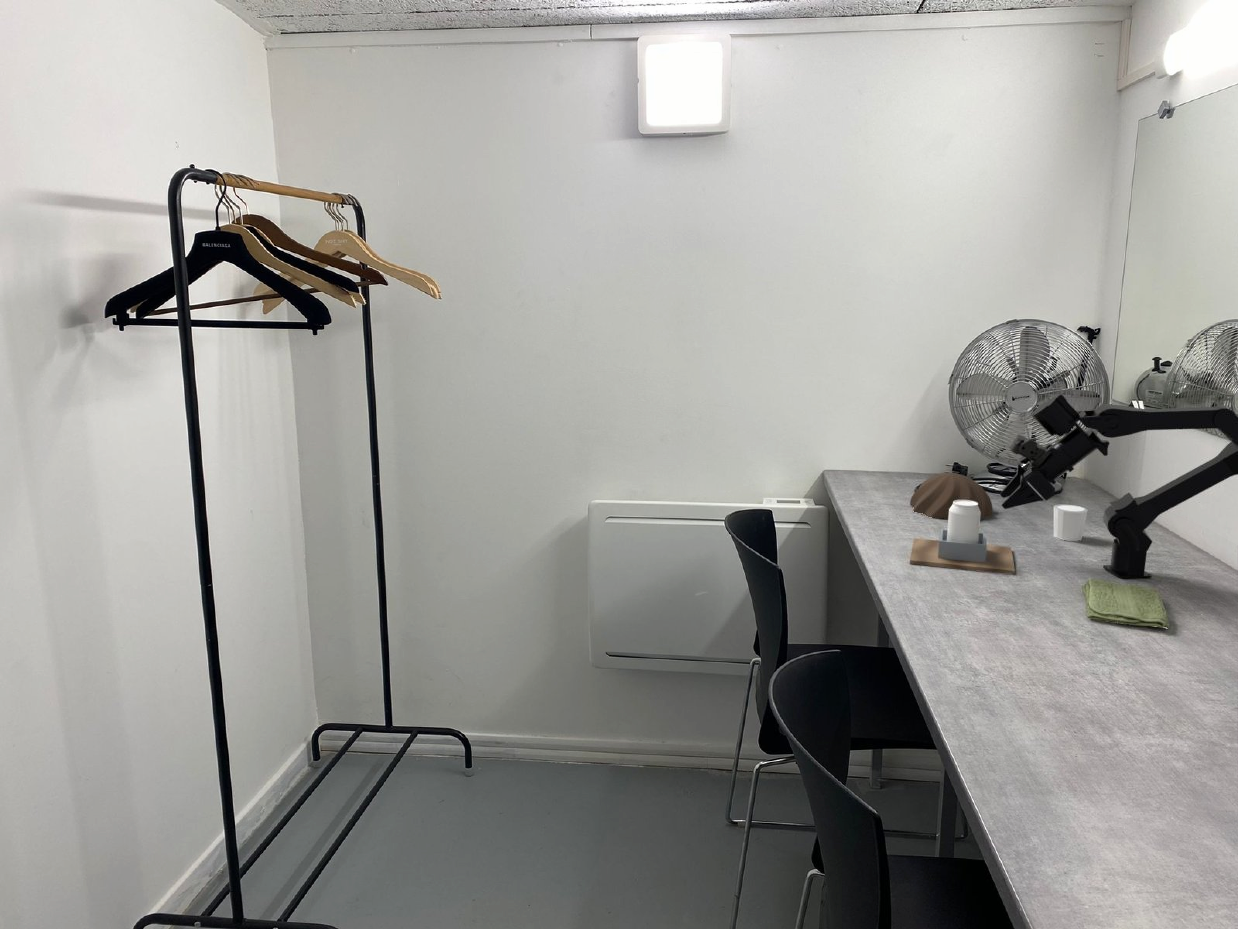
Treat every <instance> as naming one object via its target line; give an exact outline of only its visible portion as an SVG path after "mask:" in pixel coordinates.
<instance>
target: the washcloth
mask: <svg viewBox="0 0 1238 929" xmlns="http://www.w3.org/2000/svg"><path fill="white" fill-rule="evenodd" d="M1081 590H1082V591H1081V592H1082V594H1083V596H1084V600H1085V617H1086V618H1088V619H1090V621H1092V620H1093V621H1095V620H1098V621H1097V622H1103V621H1108V622H1107V623H1112V622H1116V623H1115V624H1119V623H1123V624H1122V625H1126V624H1129V625H1131V626H1142V627H1147V626H1157V627H1161V628H1163V627H1167V628H1169V627H1170V626H1171V622H1170V621H1169V620H1168V619H1169V617H1168V615H1167V614H1168V612H1167V610H1166V608H1165V605H1164V602H1163V599H1162V596H1161V594H1160V593H1159V592H1158V590H1157V589H1156V588H1153V587H1147V586H1143V585H1133V584H1129V583H1128V584H1122V583H1117V582H1116V583H1115V582H1111V581H1109V580H1102V579H1096V578H1088V579H1087V580H1086V581H1085V583H1084V584H1083V585H1082V588H1081ZM1099 620H1100V621H1099ZM1117 622H1118V623H1117ZM1129 625H1128V626H1129ZM1161 628H1160V629H1161ZM1169 629H1170V628H1169Z"/></svg>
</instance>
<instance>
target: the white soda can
mask: <svg viewBox="0 0 1238 929" xmlns="http://www.w3.org/2000/svg"><path fill="white" fill-rule="evenodd" d="M980 515H981V512H980V509H979V507H978V503H977V502H974V501H970V500H955V501H953V504H952V506H951V507H950V509H949V518H948V520H947V530H948V532H947V541H954V542H965V543H976V544H978V540H979V532H980V527H981V524H980V523H981V520H980Z"/></svg>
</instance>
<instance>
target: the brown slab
mask: <svg viewBox="0 0 1238 929" xmlns="http://www.w3.org/2000/svg"><path fill="white" fill-rule="evenodd" d="M912 543H913V544H912V547H911V552H910V558H909V564H911V565H919V566H927V565H928V567H936V568H937V567H938V568H948V569H956V568H957V570H967V571H979V572H987V573H996V574H997V573H998V574H1005V575H1007V574H1008V575H1015V571H1016V570H1015V565H1014V564H1015V563H1014V557H1013V550H1012V547H1011V546H1000V545H990V544H987V548H986V560H985V562H975V561H964V560H954V559H944V558H938V550H939V539H938V540H936V539H926V538H924V539H923V538H915V537H914V538H913V542H912Z"/></svg>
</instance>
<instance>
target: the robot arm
mask: <svg viewBox="0 0 1238 929" xmlns="http://www.w3.org/2000/svg"><path fill="white" fill-rule="evenodd" d="M1031 417H1033V419H1034V420H1036V422H1037V423H1038V424H1039V425H1040V426H1041V427H1042V428H1043V429H1044V430H1045V431H1046V432H1047V433H1048V434H1049V435H1050V437H1051V436H1055V435H1056V436H1057V437H1061V438H1060V439H1059V440H1058V441H1056V442H1054V443H1047V445H1045V446H1043V445H1041V444H1039V443H1038V442H1037V441H1036V440H1033V439H1031V438H1030V437H1029V438H1028V437H1025V436H1023V435H1021V434H1017V435H1016V437H1015V439H1014V440H1013V441H1012V443H1011V444H1010V446H1009V449H1010V451H1011V452H1012V453H1013V454H1015V455H1019V456H1021V457H1019V461H1018V462H1017V467H1016V469H1017V470H1016V474H1015V475H1013V477H1012V479H1011V480H1010V481H1009V483H1007V485H1006V486H1005V487H1004V488H1003V490H1002V491H1001V492H1000V497H1002V498H1003V499H1004V498H1006V499H1005V500H1004V502H1003V503H1002V504H1001V507H1002V508H1003V509H1004V510H1007V509H1012V508H1015V507H1020V506H1023V505H1027V504H1034V503H1037V502H1044V500H1045V501H1049V500H1050V499H1051V498H1052V497H1054V496H1055V493H1056V487H1055V484H1056V483H1057V480H1058V479H1059V478H1060V477H1061V476H1063V475H1064V474H1065V473H1066V472H1069V473H1071V472H1072V471H1074V470H1075V468H1074V467H1075V466H1076V465H1078V464H1079V463H1081V462H1082V461H1083V460H1085V459H1086V458H1087V457H1089V456H1090V455H1092V454H1093V453H1094V452H1095V451H1099V452H1100V453H1101V454H1102V455H1103V456H1104V457H1107V456H1108V455H1109V454H1108V451H1109V449H1108V448H1109V447H1110V446H1109V445H1110V442H1109V440H1108V439H1106V440H1105V439H1101V438H1100V437H1099V436H1098V435H1097V433H1099V434H1100V435H1101V436H1103V437H1106V438H1110V439H1113V438H1119V437H1125V436H1132V435H1134V434H1138V433H1141V432H1142V433H1143V432H1147V431H1163V430H1167V431H1168V430H1171V431H1172V430H1196V429H1197V430H1207V429H1208V430H1209V429H1212V430H1213V429H1217V430H1218V431H1220V433H1222V434H1223V435H1224V436H1225V437H1226V438H1227V439H1229V440H1230V442H1229V443H1227V444H1226V445H1225V447H1224V448H1223V449H1222V450H1221V451H1220V452H1219V453H1218V454H1217V455H1216V456H1215V457H1213V458H1211V459H1209V460H1208V461H1206V462H1203V464H1200V465H1198V466H1197V467H1195V468H1193V469H1191V470H1190V471H1188V472H1186V473H1184V474H1182V475H1180V476H1179V477H1177V478H1175V479H1173V480H1171V481H1168V482H1167V483H1166V484H1164V485H1162V486H1160V487H1158V488H1156V489H1154V490H1153V491H1151V492H1149V493H1148V494H1145V495H1142V496H1138V497H1137V496H1136V497H1133V495H1132V494H1131V493H1130V492H1128V493H1126V494H1124V495H1123V496H1122V497H1120V498H1119V499H1117V500H1114V501H1110V502H1109V505H1110V506H1108V507H1107V508H1106V509H1105V510H1104V512H1103V516H1102V520H1103V523H1104V525H1105V527H1106V528H1107V530H1108V532H1109V533H1110V535H1111V536H1112V537H1114V538H1113V543H1112V550H1111V558H1110V564H1104V565H1102V568H1103V569H1104V570H1106V571H1108V572H1109V573H1111V575H1114V576H1116V577H1117V578H1120V579H1139V578H1140V579H1143V578H1144V579H1145V578H1147V579H1149V578H1152V574H1151V573H1149V572H1147V571H1146V564H1147V562H1146V561H1147V554H1148V550H1149V549H1150V547H1151V546H1152V544H1153V541H1152V539H1151V537H1150V536H1149V534H1148V533H1147V532H1146V530H1147V528H1148V527H1149V526H1151V524H1152V523H1153V522H1154V521H1155V520H1156V519H1157V518H1158V517H1159V516H1160V515H1161V514H1163V513H1165V512H1168V511H1169V510H1171V509H1173V508H1175V507H1176V506H1179V505H1180V504H1182V503H1184V502H1186V501H1188V500H1189V499H1191V498H1193V497H1195V496H1197V495H1199V494H1201V493H1203V492H1205V491H1206V490H1208V489H1210V488H1212V487H1214V486H1215V485H1218V484H1220V483H1223V481H1225V480H1227V479H1230V478H1231V477H1233V476H1237V475H1238V415H1236V413H1235V411H1233V410H1232V409H1231V408H1228V407H1226V406H1225V405H1224V406H1223V405H1214V406H1208V407H1207V406H1206V407H1205V406H1204V407H1203V406H1201V407H1175V408H1174V407H1173V408H1171V407H1170V408H1140V407H1139V408H1138V407H1133V406H1128V405H1127V406H1126V405H1118V404H1112V403H1111V404H1110V403H1107V404H1101V405H1099V406H1098V407H1097V408H1095V409H1090V410H1076V409H1075V408H1074V407H1073V405H1071V404H1070V402H1068V400H1067V398H1066V397H1065V396H1064V395H1063V394H1062V393H1058V394H1056V396H1053V397H1051V398H1050V399H1048V400H1047V401H1044V402H1042V403H1041V404H1040V405H1039V406H1037V407H1036V408H1035V410H1033V411H1032V413H1031ZM1078 421H1080V423H1081V424H1082V425H1083V426H1084V427H1085V428H1088V429H1089V430H1086V431H1085V430H1084V429H1083V428H1082V426H1081V425H1080V424H1078ZM1093 430H1096V431H1097V433H1095V432H1094V431H1093ZM1062 436H1063V437H1062Z"/></svg>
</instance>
